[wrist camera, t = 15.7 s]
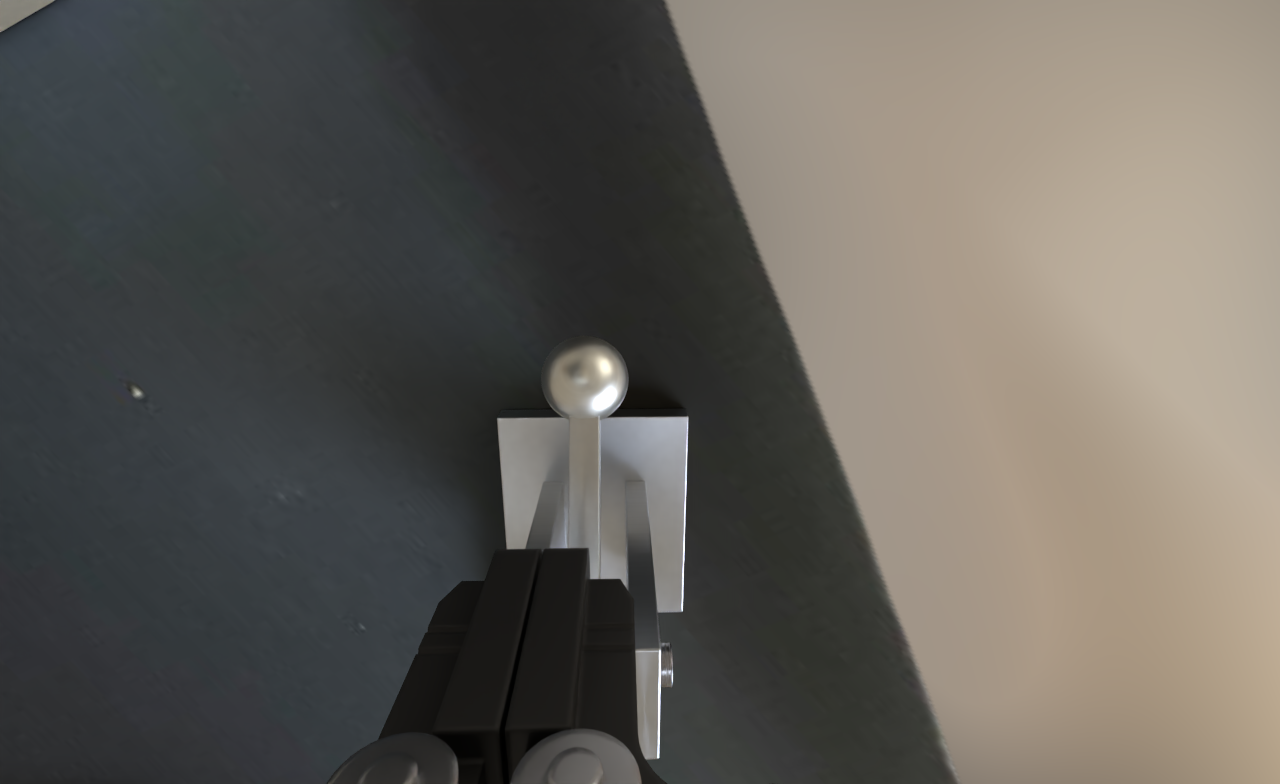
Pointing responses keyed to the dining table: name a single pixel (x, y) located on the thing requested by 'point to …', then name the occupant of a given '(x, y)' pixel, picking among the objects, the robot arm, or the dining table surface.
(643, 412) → the tap bracket
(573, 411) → the tap lever
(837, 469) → the dining table surface
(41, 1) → the panel
